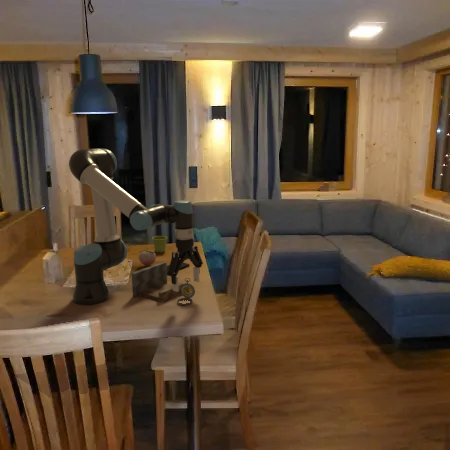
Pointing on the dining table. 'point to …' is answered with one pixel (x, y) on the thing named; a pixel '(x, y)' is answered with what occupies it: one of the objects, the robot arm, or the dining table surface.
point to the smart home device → (180, 267)
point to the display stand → (153, 283)
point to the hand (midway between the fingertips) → (186, 286)
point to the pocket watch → (186, 288)
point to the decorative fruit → (147, 257)
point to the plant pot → (159, 243)
